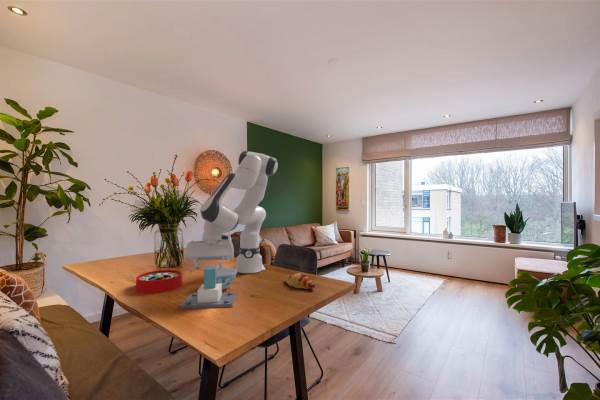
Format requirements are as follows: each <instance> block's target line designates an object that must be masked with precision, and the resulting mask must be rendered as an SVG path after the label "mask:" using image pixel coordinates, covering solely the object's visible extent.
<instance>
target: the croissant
mask: <svg viewBox="0 0 600 400" xmlns="http://www.w3.org/2000/svg"><path fill="white" fill-rule="evenodd" d="M284 279H285V282H286V283H287V285H289V287H292V286H293V287H292V288H294V287H295V289H302V288H303V289H302V290H311V289H314V288H315V287H316V284H315V283H314V282H313V281H312V280H311V278H310V276H308V275H307V274H306V273H304V272H299V273H291V274H288V275H286V276H285V278H284Z"/></svg>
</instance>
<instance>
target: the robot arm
mask: <svg viewBox="0 0 600 400" xmlns="http://www.w3.org/2000/svg"><path fill="white" fill-rule="evenodd" d="M237 163H238V167H237V169H236V171H234V173H233V172H231V173H229V174H227V175H226V176H225V177H224V178H223V180H222V181H221V182H220V183H219V184H218V186H217V187H216V188H215V190H214V191H213V193H211V195H210V197H208V198H207V200H205V201H204V202H203V204H202V206H201V207H200V215H201V218H202V219H203V220H204V225H203V233H202V238H201V240H196V241H195V240H191V241H189V242H188V243H187V245H186V251H185V259H186V260H187V262H188V261H192V262H193V263H194V265H195V266H194V267H195V270H199V269H200V266H201V265H200V263H198V261H219V260H220V261H221V262H219V263H218V268H223V265H224V264H225V263H226V261H231V260H233V259H234V257H235V251H234V250H235V249H234V244H233V242H232V240H233V239H232V237H231V236H230V235H227V234H226V233H230V232H231V231H233V230H235V229H236V228H237V227H238V225H241V226H244V227H243V230H242V231H241V233H240V235H239V236H240V238H239V239H240V240H239V243H240V244H239V246H240V247H239V255H238V256H236V267H234V269H236V270H237V273H241V274H254V273H255V274H256V273H259V272H264V271H266V268H265V267H266V266H264V264H263V257H262V255H261V254H260V252H261V251H260V249H261V248H260V231H261V227H262V225H263V223H264V220H265V219H266V217H267V212H266V209H265V208H264V207H262V206H259V205H260V203H261V202H262V201H263V199H264V196H265V194H266V189H267V186H268V179H269V177H270V176H271V177H272V176H273V175H275V174H276V173H277V171H278V165H279V163H278V160H277V158H275V157H274V156H269V155H266V154H265V153H262V152H261V153H259V152H254V151H250V150H244V151H242V152H240V153H239V156H238V161H237ZM231 188H233V189H237V190H245V192H244V195H243V197H242V199H241V201H240V203H239V204H238V205H237V207H235V208H234V209H231V208H229V207H228V206H227V205H225V204H223V203H222V200H223V199H224V198H225V196H226V195H227V193H228V192H229V190H230V189H231ZM225 234H226V235H225Z"/></svg>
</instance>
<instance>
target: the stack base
mask: <svg viewBox="0 0 600 400" xmlns="http://www.w3.org/2000/svg"><path fill="white" fill-rule="evenodd" d="M222 291H223V289H222V284H216V288H210V289H204V283H202V285H200V287H199V288H198V289H197V292H193V293H189V295H188V296H187V297H186V298H185V299H184V300H183V302H182V303H181V304H180V305H179V309H180V310H183V309H206V308H208V309H209V308H232V307H233V306H234V304H235V301H236V298H237V295H238V294H237V292H233V291H228V292H222Z"/></svg>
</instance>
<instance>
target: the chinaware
mask: <svg viewBox="0 0 600 400" xmlns="http://www.w3.org/2000/svg"><path fill="white" fill-rule="evenodd" d="M234 268H235V267H234ZM234 268H233V267H222V268H219V267H216V284H222V290H226V289H228V288H229V285H231V284H232V283H233V282H234V280H235V279H236V276H237V273H238V272H237V270H236V269H234Z"/></svg>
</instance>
